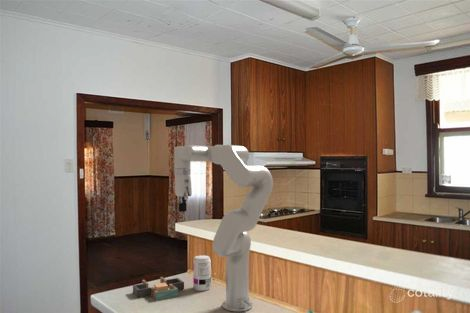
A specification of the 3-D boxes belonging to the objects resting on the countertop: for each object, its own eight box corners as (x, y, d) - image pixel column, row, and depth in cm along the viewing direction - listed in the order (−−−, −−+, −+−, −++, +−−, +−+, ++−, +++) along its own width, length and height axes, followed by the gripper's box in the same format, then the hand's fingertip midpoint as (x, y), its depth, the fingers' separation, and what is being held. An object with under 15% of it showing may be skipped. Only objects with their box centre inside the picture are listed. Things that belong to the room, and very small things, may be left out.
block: (168, 296, 167) (168, 285, 167) (156, 298, 165) (156, 287, 165) (165, 293, 172) (165, 282, 172) (154, 295, 170) (154, 284, 170)
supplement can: (190, 290, 176) (190, 258, 176) (198, 285, 183) (198, 254, 184) (206, 292, 173) (206, 259, 173) (213, 286, 181) (213, 255, 181)
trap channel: (190, 294, 170) (190, 286, 170) (142, 303, 159) (142, 295, 159) (173, 282, 188) (173, 275, 188) (129, 289, 177) (129, 282, 177)
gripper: (196, 172, 172) (196, 212, 172) (183, 172, 185) (183, 209, 185) (181, 172, 168) (181, 213, 168) (169, 172, 181) (169, 210, 181)
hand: (182, 211), depth 176 cm, fingers closed
